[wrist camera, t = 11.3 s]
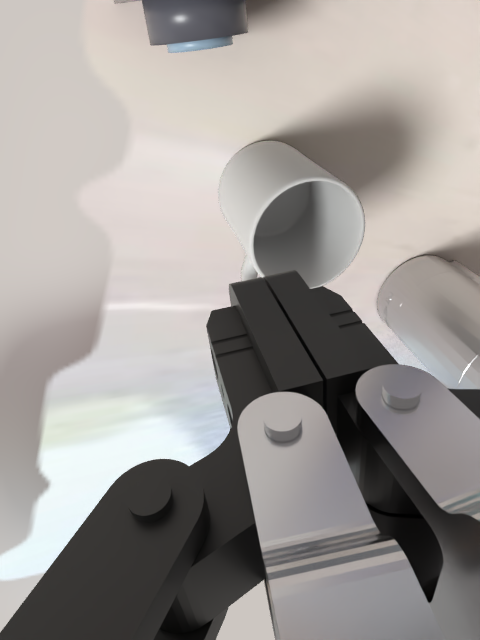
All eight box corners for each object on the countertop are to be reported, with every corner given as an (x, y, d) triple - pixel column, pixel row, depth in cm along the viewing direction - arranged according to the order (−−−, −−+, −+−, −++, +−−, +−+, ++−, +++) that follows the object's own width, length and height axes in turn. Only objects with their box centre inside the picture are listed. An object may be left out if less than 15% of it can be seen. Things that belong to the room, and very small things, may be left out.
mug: (236, 125, 35) (276, 157, 27) (325, 157, 39) (389, 196, 30) (193, 258, 41) (215, 322, 32) (275, 276, 44) (315, 340, 35)
